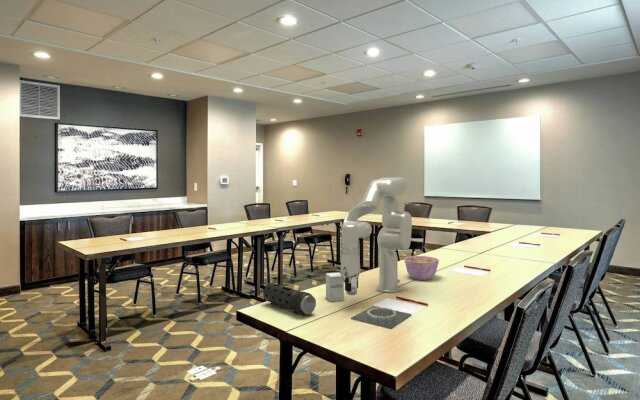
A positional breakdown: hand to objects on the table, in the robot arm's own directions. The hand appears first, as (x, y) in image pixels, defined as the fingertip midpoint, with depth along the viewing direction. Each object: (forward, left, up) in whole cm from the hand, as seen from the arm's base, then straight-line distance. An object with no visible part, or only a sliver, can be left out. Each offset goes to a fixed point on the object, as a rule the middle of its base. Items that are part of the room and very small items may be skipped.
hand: (351, 289), depth 179 cm
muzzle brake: (+19, -22, -9) cm, 30 cm away
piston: (0, 0, -2) cm, 2 cm away
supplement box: (-6, -14, -9) cm, 18 cm away
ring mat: (+3, +17, -9) cm, 19 cm away
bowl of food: (-68, +5, -9) cm, 69 cm away
